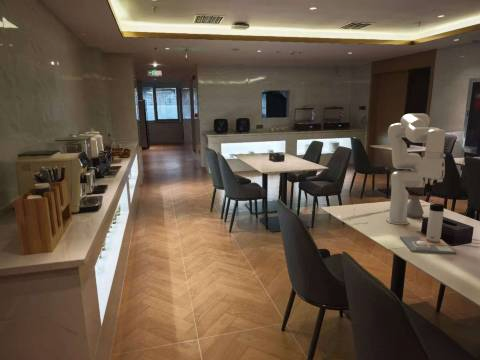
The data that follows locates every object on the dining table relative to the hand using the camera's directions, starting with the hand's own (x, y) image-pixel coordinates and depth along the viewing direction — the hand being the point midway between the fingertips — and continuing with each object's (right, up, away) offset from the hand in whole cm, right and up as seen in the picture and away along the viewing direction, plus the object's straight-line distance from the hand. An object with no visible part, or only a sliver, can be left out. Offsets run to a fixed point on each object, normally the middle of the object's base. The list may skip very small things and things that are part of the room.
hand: (429, 191), depth 166 cm
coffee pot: (+19, -17, +56) cm, 62 cm away
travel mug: (+6, -26, +7) cm, 27 cm away
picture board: (+1, -27, +4) cm, 28 cm away
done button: (-4, -27, 0) cm, 27 cm away
